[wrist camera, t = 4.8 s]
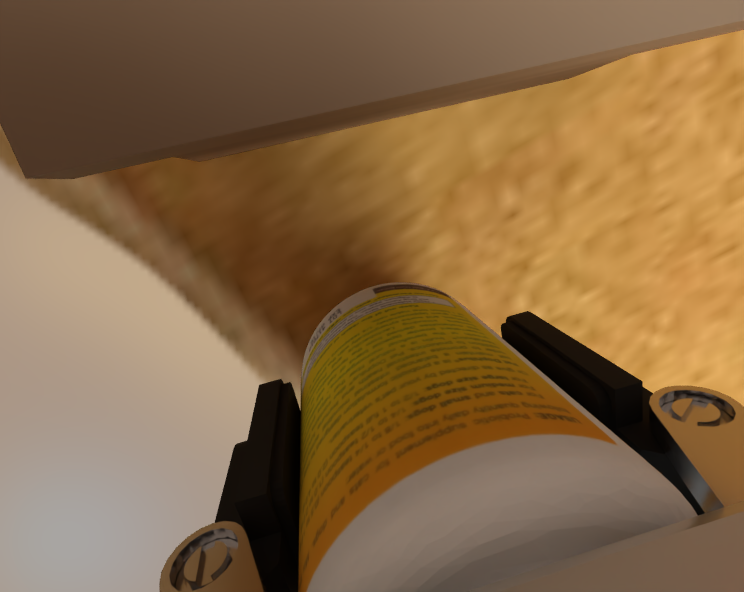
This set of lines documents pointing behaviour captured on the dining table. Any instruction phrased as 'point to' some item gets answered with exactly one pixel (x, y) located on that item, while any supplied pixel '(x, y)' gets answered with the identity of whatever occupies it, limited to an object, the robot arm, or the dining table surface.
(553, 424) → the supplement bottle
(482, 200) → the dining table surface
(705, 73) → the dining table surface
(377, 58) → the walnut box
